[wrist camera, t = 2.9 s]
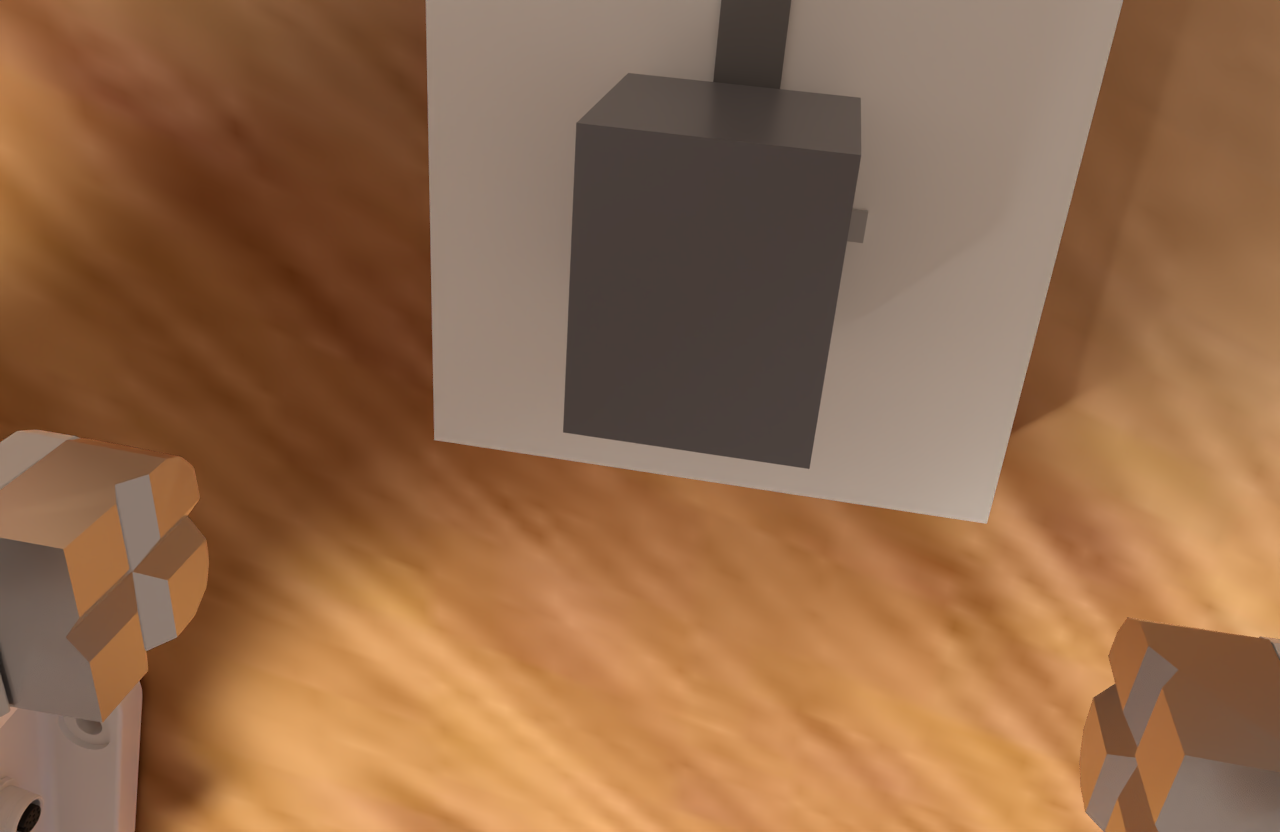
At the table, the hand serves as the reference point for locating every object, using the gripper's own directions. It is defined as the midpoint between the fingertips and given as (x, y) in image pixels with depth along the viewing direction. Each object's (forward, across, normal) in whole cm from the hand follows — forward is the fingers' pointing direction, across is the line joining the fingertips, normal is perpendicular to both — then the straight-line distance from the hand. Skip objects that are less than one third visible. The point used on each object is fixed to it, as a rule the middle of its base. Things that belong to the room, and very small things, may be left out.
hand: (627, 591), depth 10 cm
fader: (+12, 0, -1) cm, 12 cm away
